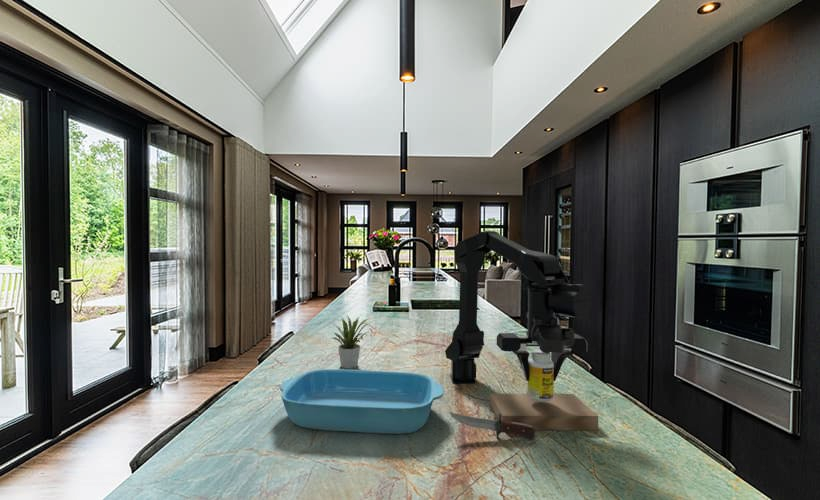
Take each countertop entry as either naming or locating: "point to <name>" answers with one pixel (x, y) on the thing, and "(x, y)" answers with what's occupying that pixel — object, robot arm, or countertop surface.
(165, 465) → the countertop surface
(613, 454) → the countertop surface
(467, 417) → the knife
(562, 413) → the walnut stand
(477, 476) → the countertop surface
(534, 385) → the supplement bottle
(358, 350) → the house plant
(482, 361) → the countertop surface
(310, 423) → the casserole dish
